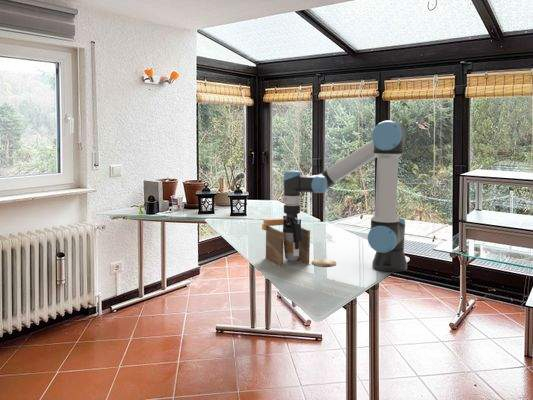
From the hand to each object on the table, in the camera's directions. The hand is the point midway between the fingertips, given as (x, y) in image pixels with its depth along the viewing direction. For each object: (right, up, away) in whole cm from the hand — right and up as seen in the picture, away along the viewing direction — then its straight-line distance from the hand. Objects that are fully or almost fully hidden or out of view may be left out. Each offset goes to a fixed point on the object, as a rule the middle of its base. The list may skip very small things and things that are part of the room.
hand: (291, 253), depth 231 cm
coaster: (+15, -4, +1) cm, 16 cm away
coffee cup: (0, -2, 0) cm, 2 cm away
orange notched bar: (-5, +11, +10) cm, 16 cm away
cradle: (-2, -4, +4) cm, 6 cm away
